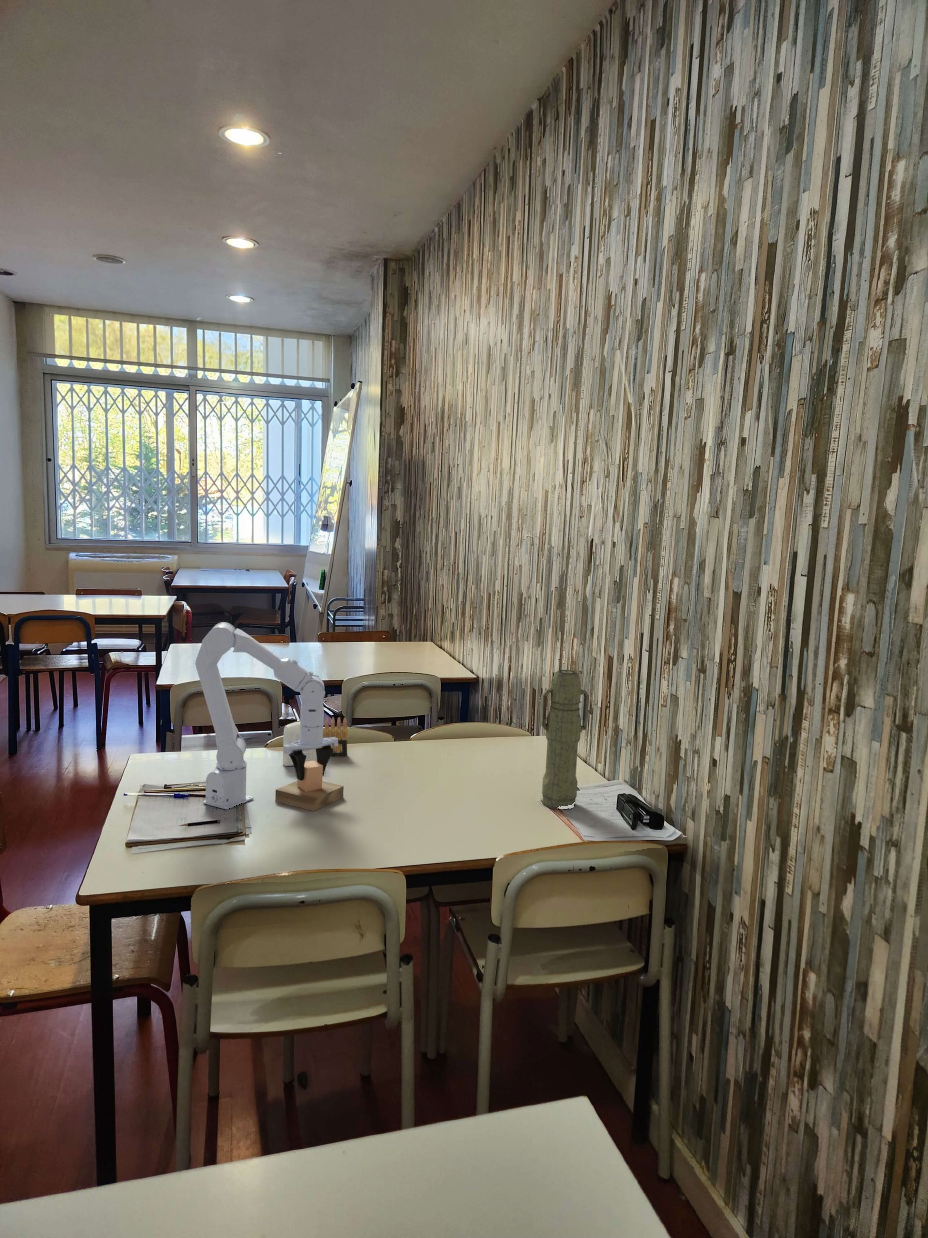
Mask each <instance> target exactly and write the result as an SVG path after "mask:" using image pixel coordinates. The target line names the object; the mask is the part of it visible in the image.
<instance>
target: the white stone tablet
mask: <svg viewBox="0 0 928 1238" xmlns="http://www.w3.org/2000/svg"><path fill="white" fill-rule="evenodd" d="M282 739H283V741H282V743H283V745H287V744H290V743H294V742H297V741H300V720H299V721H294V722H291V723H289V724H287V725H286V724H285V726H284V727H283V738H282ZM283 745H282V746H283ZM302 753H303V754H304V755H306V756H307V757H306V760H305V762H308V761H313V760H314V761H316V762H317V755H316V749H312V750H306V751H302ZM282 765H283V766H285V767H289V766H291V767H292V766H294V765H293V762H292V760H291V758H290V756H289V754H285V753H283V752H282Z"/></svg>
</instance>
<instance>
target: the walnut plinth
mask: <svg viewBox="0 0 928 1238" xmlns="http://www.w3.org/2000/svg"><path fill="white" fill-rule="evenodd" d="M274 793H275V797H274V800H275V802H276V803H277V802H278V803H281V804H285V805H289V806H292V807H297V808H299V809H305V810H308V811H310V812H311V811H312V812H316V811H317V810H319V809H321V808H324V807H325V806H328V805H330V804H332V803H334V802H336V801H338V800H340V799H342V798H344V785H341V784H337V783H333V782H328V781H323V780H322V788H321V789H316V790H312V791H307V792H306V791H304V790H303V789H301V788H299V787H298V786H297V780H296V781H294V782H291V783H289V784H286V785H283V786H282V787H279V788H276V789H275V792H274Z"/></svg>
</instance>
